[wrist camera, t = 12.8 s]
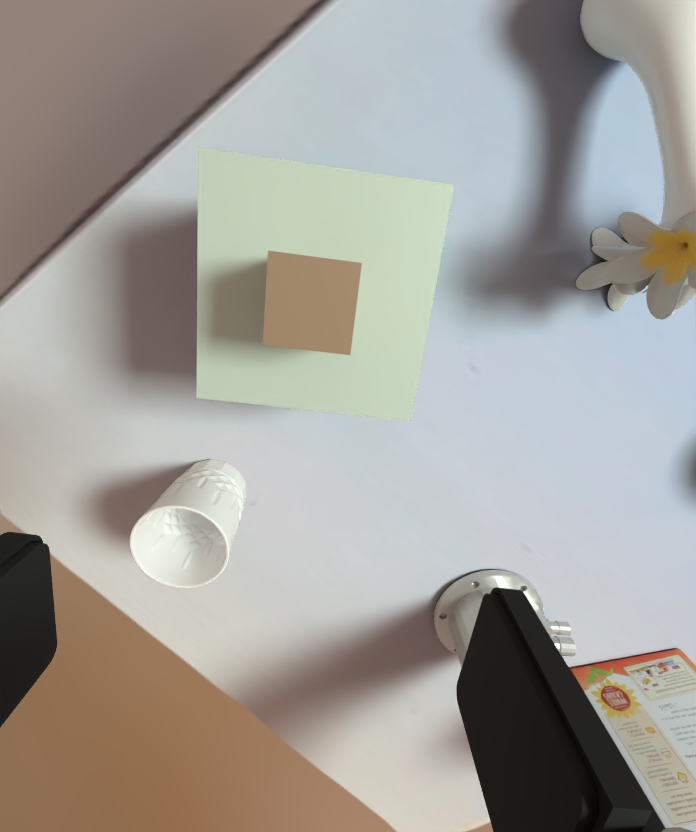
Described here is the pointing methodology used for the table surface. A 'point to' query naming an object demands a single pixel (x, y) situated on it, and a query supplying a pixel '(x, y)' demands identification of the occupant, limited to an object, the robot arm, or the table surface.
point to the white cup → (191, 526)
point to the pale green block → (314, 284)
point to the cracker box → (651, 725)
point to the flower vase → (678, 143)
